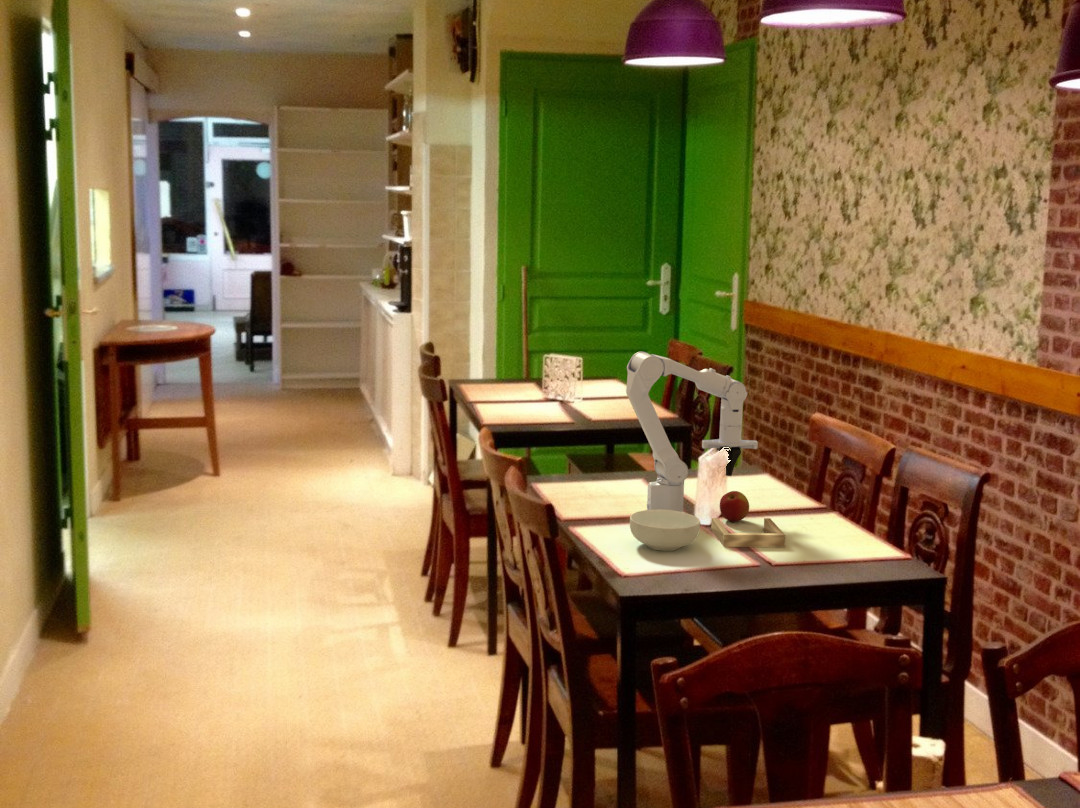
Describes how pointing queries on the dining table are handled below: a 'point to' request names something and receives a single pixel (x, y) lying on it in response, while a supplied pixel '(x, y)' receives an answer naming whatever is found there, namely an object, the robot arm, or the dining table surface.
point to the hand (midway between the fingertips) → (728, 474)
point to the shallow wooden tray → (749, 536)
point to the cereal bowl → (664, 528)
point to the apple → (734, 506)
